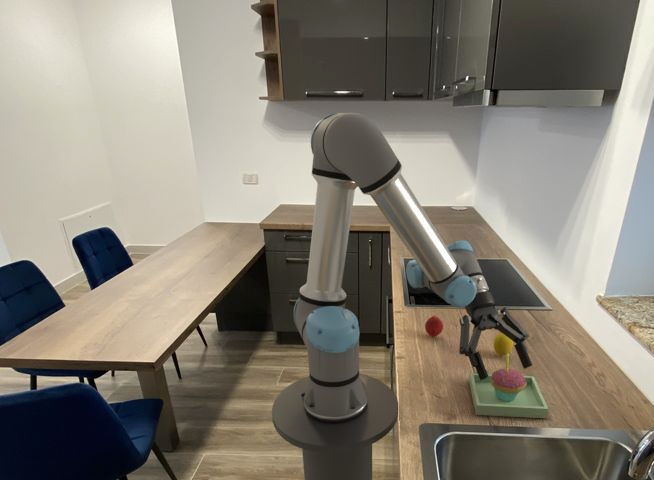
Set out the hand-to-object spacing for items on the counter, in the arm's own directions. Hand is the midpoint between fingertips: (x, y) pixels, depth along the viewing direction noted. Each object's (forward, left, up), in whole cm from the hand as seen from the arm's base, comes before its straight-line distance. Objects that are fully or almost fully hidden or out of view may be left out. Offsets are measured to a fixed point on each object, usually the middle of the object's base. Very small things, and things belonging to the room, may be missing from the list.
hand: (506, 372), depth 110 cm
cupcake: (+1, 0, -7) cm, 7 cm away
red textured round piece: (-17, +34, -8) cm, 38 cm away
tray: (0, 0, -7) cm, 8 cm away
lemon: (+3, +23, -8) cm, 24 cm away
